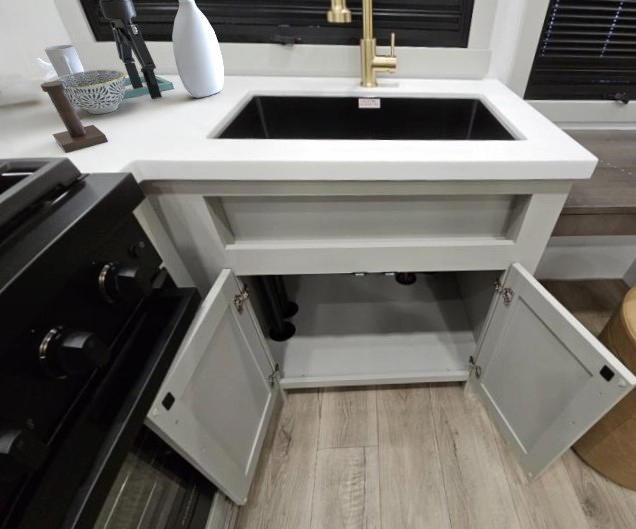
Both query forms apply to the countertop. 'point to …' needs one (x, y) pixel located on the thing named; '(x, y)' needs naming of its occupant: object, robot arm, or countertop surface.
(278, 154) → the countertop surface
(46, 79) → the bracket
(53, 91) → the peg stand
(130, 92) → the frame
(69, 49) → the mug
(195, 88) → the soap bottle
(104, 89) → the bowl
